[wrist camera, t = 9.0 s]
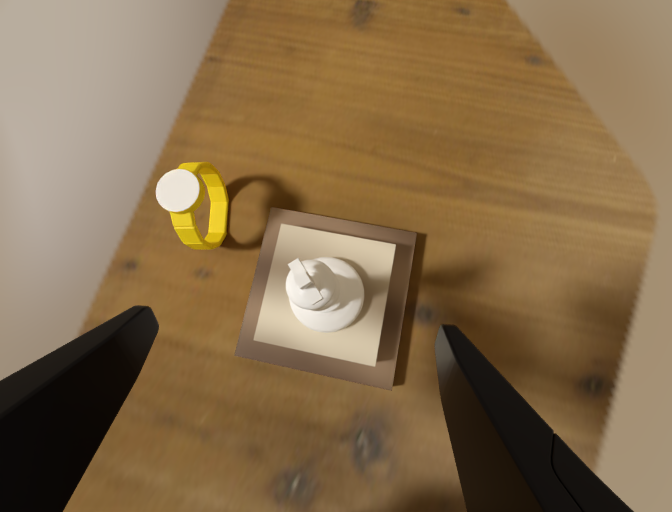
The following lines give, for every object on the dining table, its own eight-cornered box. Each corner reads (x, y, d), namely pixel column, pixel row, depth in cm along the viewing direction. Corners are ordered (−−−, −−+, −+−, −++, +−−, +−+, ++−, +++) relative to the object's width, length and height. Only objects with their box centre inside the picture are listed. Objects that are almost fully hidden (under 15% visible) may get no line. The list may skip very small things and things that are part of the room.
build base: (389, 386, 21) (395, 397, 18) (239, 353, 22) (225, 358, 19) (414, 236, 23) (421, 227, 20) (274, 211, 24) (265, 199, 21)
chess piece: (338, 243, 20) (326, 182, 11) (378, 306, 19) (406, 302, 10) (276, 282, 20) (204, 257, 10) (314, 347, 19) (275, 387, 9)
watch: (235, 253, 24) (197, 241, 18) (201, 253, 24) (151, 242, 18) (238, 179, 24) (202, 144, 18) (204, 180, 24) (158, 145, 18)
